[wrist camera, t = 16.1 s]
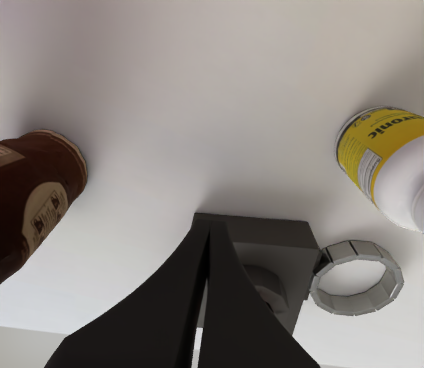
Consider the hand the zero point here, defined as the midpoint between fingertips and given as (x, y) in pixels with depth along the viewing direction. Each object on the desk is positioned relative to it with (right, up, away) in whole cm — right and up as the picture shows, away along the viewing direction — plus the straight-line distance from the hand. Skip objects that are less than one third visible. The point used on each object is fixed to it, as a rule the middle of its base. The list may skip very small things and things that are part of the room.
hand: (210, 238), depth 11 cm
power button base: (+3, -5, +14) cm, 15 cm away
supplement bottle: (+12, +6, +7) cm, 15 cm away
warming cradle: (+13, -6, +13) cm, 20 cm away
